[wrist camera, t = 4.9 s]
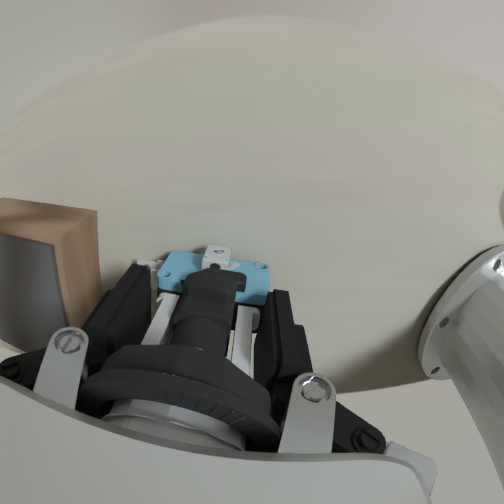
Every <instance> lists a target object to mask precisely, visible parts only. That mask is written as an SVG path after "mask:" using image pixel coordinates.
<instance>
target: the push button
mask: <svg viewBox="0 0 504 504" xmlns="http://www.w3.org/2000/svg"><path fill="white" fill-rule="evenodd" d="M214 250H221V251H223V252H224V253H221V254H219V253H215V252H214ZM231 250H232V249H230V248H229V247H223V246H217V245H209V246H208V247H207V249H206V252H205V254H204V255H202V254H196V253H190V252H184V251H173V252H171V253H170V255H169V256H168V258H167V259H166V261H163V260H158V262H153V261H147V260H142V259H139V260H138V261H137V264H138V265H143V266H144V265H146V264H147V265H149V266H150V271H151V287H152V290H157V297H158V298H157V301H156V305H157V312H156V314H155V316H154V318H153V320H152V322H151V324H150V326H149V328H148V331H147V333H146V335H145V337H144V339H143V341H142V343H141V345H125V346H123V347H121V348H120V349H119V350H117V351H116V352H114V353H113V354H112V355H110V356H109V357H108V358H107V359H106V361H105V363H104V365H103V366H102V368H101V370H100V372H97V373H95V374H93V375H91V376H90V377H89V378H87V379H86V381H85V382H84V383H83V385H82V387H81V389H80V391H79V396H80V398H81V400H82V402H83V404H82V411H81V413H83V414H86V415H88V416H91V417H94V418H97V419H99V420H102V421H105V422H108V423H111V424H114V425H117V426H121V427H124V428H127V429H130V430H134V431H137V432H141V433H145V434H149V435H153V436H157V437H161V438H165V439H170V440H174V441H179V442H184V443H190V444H195V445H201V446H208V447H214V448H222V449H230V450H239V451H250V452H265V453H274V451H275V447H276V446H277V444H278V443H279V441H280V436H281V430H280V428H279V426H278V425H277V423H276V422H275V421H274V420H273V409H272V405H271V400H270V395H269V392H268V390H267V389H266V388H264V387H263V386H261V385H260V384H259V383H258V382H256V381H255V380H254V379H252V378H251V377H250V360H251V342H252V333H257V331H258V328H259V324H260V320H261V317H262V313H263V309H264V305H265V302H266V298H267V294H268V292H270V283H269V267H268V266H267V265H266V264H263V263H257V262H255V263H253V262H246V261H240V260H234V259H230V255H231ZM231 330H235V332H234V340H233V348H232V356H231V361H229V360H228V359H227V358H225V357H226V356H227V351H228V345H229V338H230V331H231ZM172 332H173V334H172ZM171 334H172V337H171ZM170 337H171V340H170V342H169V339H170ZM168 342H169V345H168Z"/></svg>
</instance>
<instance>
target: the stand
mask: <svg viewBox="0 0 504 504" xmlns="http://www.w3.org/2000/svg"><path fill="white" fill-rule="evenodd" d="M101 299H102V290H101V280H100V269H99V256H98V237H97V211H94V210H88V209H81V208H74V207H67V206H60V205H53V204H45V203H38V202H31V201H23V200H16V199H8V198H1V199H0V338H1V340H3V341H5V342H7V343H9V344H11V345H13V346H15V347H17V348H19V349H21V350H23V351H25V352H27V353H28V352H32V351H35V350H39V349H42V348H46V347H48V344H49V342H50V339H51V337H52V336H53V334H54V333H55V332H56V331H58V330H60V329H62V328H65V327H76V328H79V329H80V328H81V327H82V325H83V324H84V323H85V321H86V320H87V318H88V317H89V315H90V314H91V313H92V311H93V310H94V308H95V307H96V306H97V304H98V303H99V302H100V300H101Z"/></svg>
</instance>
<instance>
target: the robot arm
mask: <svg viewBox="0 0 504 504" xmlns="http://www.w3.org/2000/svg"><path fill="white" fill-rule="evenodd" d="M150 324H151V271H150V270H147V267H146V266H143V265H138V264H132V265H131V266H130V267H129V269H128V270H127V271H126V273H125V274H124V275H123V277H122V278H121V279H120V281H119V282H118V283H117V285H116V286H115V287H114V289H113V290H112V291H111V290H109V291H107V292H106V293H105V295H104V296H103V297H102V299H101V300H100V302H99V303H98V304H97V306H96V307H95V308H94V310H93V311H92V313H91V314H90V315H89V317H88V318H87V320H86V321H85V323H84V324H83V325H82V327H81V328H80V329H79V328H76V327H65V328H62V329H60V330H58V331H56V332H55V333H54V334H53V336H52V337H51V339H50V342H49V344H48V347H46V348H42V349H39V350H35V351H32V352H28V353H24V354H21V355H17V356H13V357H10V358H7V359H5V360H4V361H2V362H1V363H0V504H432V502H431V499H430V495H431V492H432V489H433V485H434V482H435V478H436V475H437V467H436V464H435V463H434V461H433V460H432V459H431V458H429V457H427V456H425V455H422V454H420V453H418V452H415V451H413V450H411V449H408V448H406V447H404V446H402V445H399V444H397V443H395V442H393V441H391V442H390V443H388V442H386V441H385V438H384V436H383V435H382V433H381V432H380V431H379V430H378V429H377V428H375V427H374V426H372V425H371V424H369V423H367V422H366V421H365V420H363V419H362V418H360V417H359V416H357V415H356V414H354V413H353V412H351V411H350V410H348V409H347V408H346V407H344V406H343V405H341V404H340V403H338V402H337V401H336V389H335V387H334V385H333V383H332V382H331V381H330V380H329V379H328V378H326V377H325V376H323V375H320V374H317V373H313V369H312V364H311V359H310V354H309V349H308V344H307V340H306V335H305V330H304V327H303V326H302V325H296V324H294V320H293V314H292V309H291V303H290V298H289V293H288V291H283V290H277V289H274V290H273V292H268V294H267V298H266V302H265V305H264V309H263V313H262V317H261V320H260V324H259V328H258V331H257V335H256V338H255V343H254V380H255V381H256V382H258V383H259V384H260V385H261V386H263V387H264V388H266V389H267V390H268V392H269V395H270V400H271V405H272V409H273V420H274V421H275V422H276V423H277V425H278V426H279V428H280V430H281V436H280V441H279V443H278V444H277V446H276V447H275V451H274V453H265V452H250V451H239V450H230V449H222V448H214V447H208V446H201V445H195V444H190V443H184V442H179V441H174V440H170V439H165V438H161V437H157V436H153V435H149V434H145V433H141V432H137V431H134V430H130V429H127V428H124V427H121V426H117V425H114V424H111V423H108V422H105V421H102V420H99V419H97V418H94V417H91V416H88V415H86V414H83V413H81V411H82V404H83V402H82V400H81V398H80V396H79V391H80V389H81V387H82V385H83V383H84V382H85V381H86V379H87V378H89V377H90V376H91V375H93V374H95V373H97V372H100V370H101V368H102V366H103V365H104V363H105V361H106V359H107V358H108V357H109V356H110V355H112V354H113V353H114V352H116V351H117V350H119V349H120V348H121V347H123V346H125V345H141V343H142V341H143V339H144V337H145V335H146V333H147V331H148V328H149V326H150ZM418 359H419V363H420V365H421V367H422V369H423V371H424V372H425V374H426V375H427V376H428V377H430V378H432V379H435V380H447V379H451V380H452V381H453V383H454V385H455V386H456V388H457V390H458V392H459V394H460V395H461V397H462V399H463V401H464V403H465V405H466V406H467V408H468V410H469V412H470V414H471V416H472V418H473V420H474V422H475V424H476V426H477V428H478V430H479V432H480V434H481V436H482V438H483V440H484V442H485V445H486V447H487V449H488V451H489V454H490V456H491V458H492V460H493V463H494V465H495V468H496V470H497V473H498V475H499V478H500V480H501V483H502V486H503V489H504V245H501V246H498V247H494V248H492V249H490V250H488V251H487V252H485V253H483V254H482V255H480V256H479V257H478V258H477V259H475V260H474V261H473V262H471V263H470V264H469V265H468V266H467V267H466V268H465V269H464V270H463V271H462V272H461V273H460V274H459V275H458V276H457V277H456V279H455V280H454V281H453V282H452V283H451V285H450V286H449V287H448V288H447V290H446V291H445V292H444V294H443V295H442V297H441V298H440V299H439V301H438V302H437V304H436V306H435V307H434V309H433V311H432V313H431V314H430V316H429V318H428V320H427V322H426V325H425V327H424V329H423V331H422V334H421V338H420V341H419V345H418Z"/></svg>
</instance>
